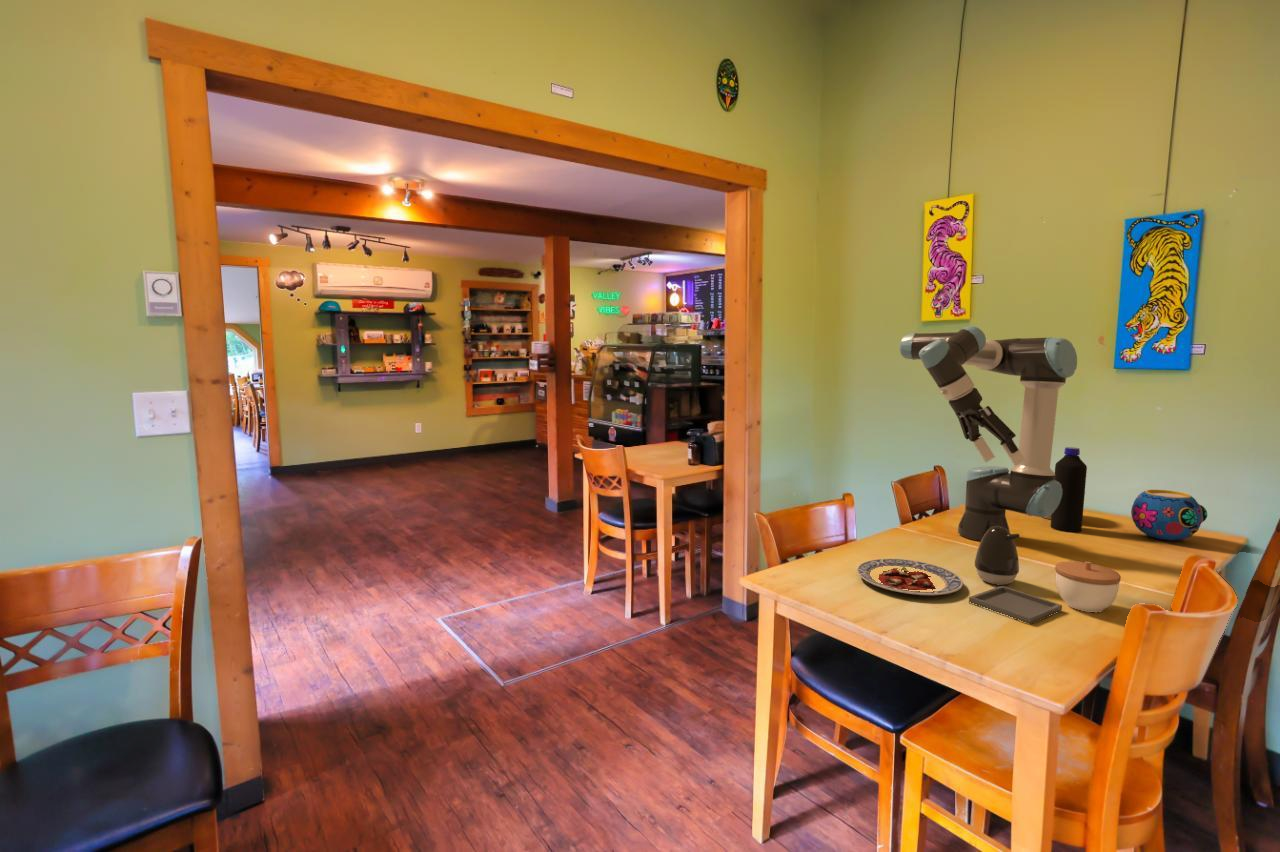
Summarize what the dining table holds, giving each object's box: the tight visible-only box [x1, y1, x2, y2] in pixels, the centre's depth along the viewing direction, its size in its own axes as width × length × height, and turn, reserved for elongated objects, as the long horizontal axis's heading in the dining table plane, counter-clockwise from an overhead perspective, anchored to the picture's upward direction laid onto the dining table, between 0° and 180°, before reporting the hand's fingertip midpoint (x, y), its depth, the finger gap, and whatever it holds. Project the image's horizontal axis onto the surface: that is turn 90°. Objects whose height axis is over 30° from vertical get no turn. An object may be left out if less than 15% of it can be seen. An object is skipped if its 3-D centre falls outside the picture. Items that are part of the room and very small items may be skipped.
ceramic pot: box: [1130, 489, 1208, 542], centre depth 200 cm, size 18×18×15 cm
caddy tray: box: [968, 585, 1063, 625], centre depth 148 cm, size 14×14×2 cm
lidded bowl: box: [1054, 560, 1122, 614], centre depth 148 cm, size 13×13×11 cm
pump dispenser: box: [974, 526, 1020, 586], centre depth 163 cm, size 10×10×15 cm
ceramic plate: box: [856, 558, 964, 596], centre depth 164 cm, size 26×26×3 cm
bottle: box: [1050, 446, 1088, 533], centre depth 210 cm, size 9×9×28 cm
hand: (1004, 461), depth 164 cm, fingers open, 13 cm apart
